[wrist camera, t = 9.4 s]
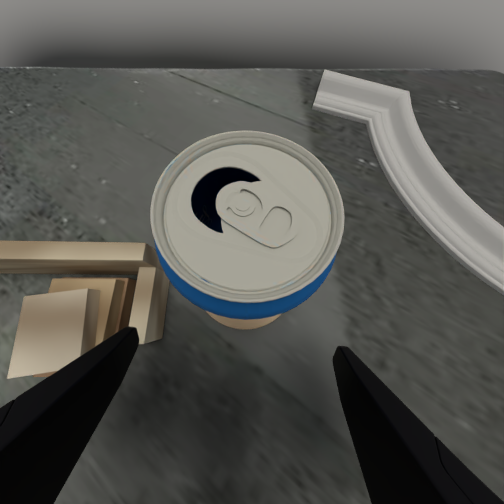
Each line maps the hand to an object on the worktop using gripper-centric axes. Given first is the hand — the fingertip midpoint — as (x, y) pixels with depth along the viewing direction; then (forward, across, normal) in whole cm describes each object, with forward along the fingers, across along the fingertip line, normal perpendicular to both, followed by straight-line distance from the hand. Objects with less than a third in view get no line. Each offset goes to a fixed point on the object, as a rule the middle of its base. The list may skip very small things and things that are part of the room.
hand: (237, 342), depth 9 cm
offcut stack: (+5, +12, +6) cm, 14 cm away
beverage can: (+8, 0, +2) cm, 9 cm away
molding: (+16, -19, -4) cm, 25 cm away
